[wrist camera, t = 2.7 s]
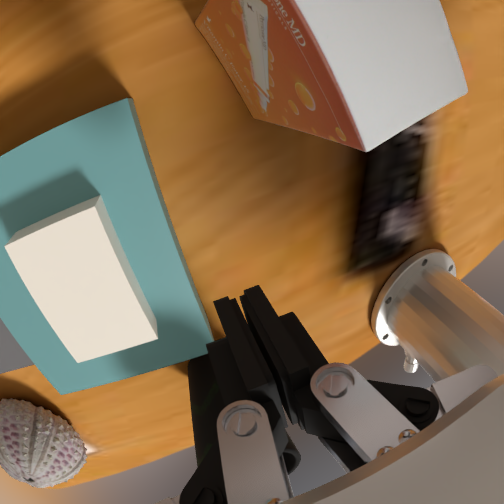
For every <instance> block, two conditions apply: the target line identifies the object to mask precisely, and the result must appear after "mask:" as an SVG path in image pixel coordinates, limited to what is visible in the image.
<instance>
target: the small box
mask: <svg viewBox="0 0 504 504" xmlns="http://www.w3.org/2000/svg"><path fill="white" fill-rule="evenodd" d="M195 26H196V27H197V28H198V30H199V31H200V32H201V34H202V35H203V36H204V38H205V39H206V41H207V42H208V44H209V45H210V47H211V48H212V50H213V51H214V53H215V54H216V56H217V58H218V59H219V61H220V62H221V64H222V65H223V67H224V69H225V70H226V72H227V74H228V75H229V77H230V79H231V80H232V82H233V84H234V85H235V87H236V89H237V90H238V92H239V94H240V96H241V97H242V99H243V101H244V102H245V104H246V106H247V108H248V110H249V111H250V113H251V115H252V117H253V118H254V119H258V120H262V121H266V122H269V123H273V124H277V125H281V126H284V127H288V128H292V129H295V130H299V131H302V132H305V133H309V134H312V135H315V136H319V137H322V138H325V139H328V140H331V141H334V142H337V143H341V144H344V145H347V146H349V147H352V148H355V149H358V150H361V151H364V152H368V151H370V150H372V149H374V148H375V147H377V146H378V145H380V144H381V143H383V142H385V141H386V140H388V139H390V138H391V137H393V136H394V135H396V134H398V133H399V132H401V131H402V130H404V129H406V128H407V127H409V126H411V125H413V124H414V123H416V122H418V121H419V120H421V119H423V118H424V117H426V116H428V115H430V114H431V113H433V112H435V111H436V110H438V109H440V108H442V107H443V106H445V105H447V104H449V103H450V102H452V101H454V100H456V99H457V98H459V97H461V96H463V95H465V94H466V93H467V92H468V88H467V84H466V81H465V77H464V73H463V69H462V66H461V63H460V59H459V56H458V53H457V50H456V47H455V44H454V41H453V38H452V35H451V32H450V29H449V26H448V23H447V20H446V17H445V14H444V11H443V8H442V6H441V3H440V1H439V0H208V1H207V3H206V4H205V6H204V8H203V10H202V11H201V13H200V14H199V16H198V18H197V19H196V21H195Z"/></svg>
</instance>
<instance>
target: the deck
mask: <svg viewBox="0 0 504 504" xmlns="http://www.w3.org/2000/svg"><path fill="white" fill-rule="evenodd" d="M99 195H101V197H102V199H103V202H104V205H105V207H106V210H107V212H108V215H109V217H110V220H111V222H112V224H113V227H114V229H115V232H116V234H117V236H118V239H119V241H120V243H121V246H122V248H123V250H124V253H125V255H126V257H127V259H128V261H129V264H130V266H131V268H132V270H133V272H134V275H135V277H136V279H137V281H138V283H139V285H140V287H141V289H142V291H143V294H144V296H145V298H146V300H147V302H148V304H149V306H150V308H151V310H152V312H153V314H154V316H155V318H156V321H157V333H158V339H156V340H153V341H150V342H147V343H143V344H140V345H137V346H134V347H131V348H127V349H124V350H121V351H117V352H114V353H111V354H107V355H104V356H101V357H97V358H94V359H90V360H87V361H83V362H80V363H77V362H76V360H75V359H74V358H73V356H72V355H71V354H70V352H69V351H68V350H67V348H66V347H65V345H64V344H63V343H62V341H61V340H60V338H59V337H58V336H57V334H56V333H55V331H54V330H53V328H52V327H51V325H50V324H49V322H48V321H47V319H46V318H45V316H44V315H43V313H42V312H41V310H40V309H39V307H38V305H37V304H36V302H35V301H34V299H33V297H32V296H31V294H30V292H29V291H28V289H27V287H26V286H25V284H24V282H23V280H22V279H21V277H20V275H19V273H18V271H17V270H16V268H15V266H14V264H13V262H12V260H11V258H10V256H9V255H8V253H7V251H6V249H5V247H4V246H5V245H6V244H7V242H8V241H9V240H10V239H11V238H12V236H13V235H14V234H15V233H16V232H17V231H19V230H21V229H23V228H25V227H27V226H30V225H32V224H34V223H36V222H38V221H40V220H43V219H45V218H47V217H49V216H51V215H54V214H56V213H58V212H61V211H63V210H65V209H67V208H70V207H72V206H75V205H77V204H79V203H82V202H84V201H87V200H89V199H92V198H94V197H97V196H99ZM0 318H1V320H2V321H3V322H4V324H5V325H6V327H7V328H8V330H9V331H10V332H11V334H12V335H13V337H14V338H15V339H16V341H17V342H18V343H19V345H20V346H21V347H22V349H23V350H24V351H25V353H26V354H27V355H28V357H29V358H30V359H31V360H32V362H33V363H34V364H35V365H36V366H37V368H38V369H39V370H40V371H41V373H42V374H43V375H44V376H45V377H46V378H47V380H48V381H49V382H50V383H51V384H52V385H53V386H54V388H55V389H56V390H57V391H58V392H59V393H60V394H61V395H63V394H68V393H72V392H76V391H80V390H84V389H88V388H92V387H96V386H100V385H104V384H108V383H111V382H115V381H119V380H122V379H126V378H129V377H133V376H137V375H140V374H143V373H147V372H150V371H154V370H157V369H160V368H164V367H167V366H170V365H173V364H177V363H180V362H183V361H186V360H189V359H192V358H195V357H198V356H201V355H204V354H207V353H208V351H207V347H206V344H208V343H211V342H213V341H214V338H213V335H212V331H211V328H210V325H209V321H208V318H207V315H206V313H205V310H204V308H203V305H202V303H201V300H200V298H199V295H198V293H197V290H196V287H195V285H194V282H193V280H192V277H191V274H190V272H189V269H188V266H187V264H186V261H185V258H184V256H183V253H182V250H181V247H180V245H179V242H178V239H177V236H176V233H175V231H174V228H173V225H172V222H171V219H170V216H169V214H168V211H167V208H166V205H165V202H164V199H163V196H162V193H161V190H160V187H159V184H158V181H157V178H156V175H155V172H154V168H153V165H152V162H151V159H150V156H149V153H148V149H147V146H146V143H145V140H144V136H143V133H142V130H141V126H140V123H139V120H138V116H137V113H136V109H135V106H134V102H133V99H131V98H126V99H123V100H120V101H118V102H115V103H112V104H110V105H107V106H104V107H102V108H99V109H97V110H94V111H92V112H89V113H87V114H85V115H82V116H80V117H78V118H75V119H73V120H71V121H68V122H66V123H64V124H62V125H60V126H58V127H55V128H53V129H51V130H49V131H47V132H45V133H43V134H41V135H39V136H37V137H35V138H33V139H31V140H29V141H27V142H25V143H24V144H22V145H20V146H18V147H16V148H14V149H12V150H11V151H9V152H7V153H5V154H4V155H2V156H0Z"/></svg>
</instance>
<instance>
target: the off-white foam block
mask: <svg viewBox="0 0 504 504" xmlns="http://www.w3.org/2000/svg"><path fill="white" fill-rule="evenodd" d="M4 247H5V249H6V251H7V253H8V255H9V256H10V258H11V260H12V262H13V264H14V266H15V268H16V270H17V271H18V273H19V275H20V277H21V279H22V280H23V282H24V284H25V286H26V287H27V289H28V291H29V292H30V294H31V296H32V297H33V299H34V301H35V302H36V304H37V305H38V307H39V309H40V310H41V312H42V313H43V315H44V316H45V318H46V319H47V321H48V322H49V324H50V325H51V327H52V328H53V330H54V331H55V333H56V334H57V336H58V337H59V338H60V340H61V341H62V343H63V344H64V345H65V347H66V348H67V350H68V351H69V352H70V354H71V355H72V356H73V358H74V359H75V360H76V362H77V363H80V362H83V361H87V360H90V359H94V358H97V357H101V356H104V355H107V354H111V353H114V352H117V351H121V350H124V349H127V348H131V347H134V346H137V345H140V344H143V343H147V342H150V341H153V340H156V339H158V333H157V321H156V318H155V316H154V314H153V312H152V310H151V308H150V306H149V304H148V302H147V300H146V298H145V296H144V294H143V291H142V289H141V287H140V285H139V283H138V281H137V279H136V277H135V275H134V272H133V270H132V268H131V266H130V264H129V261H128V259H127V257H126V255H125V253H124V250H123V248H122V246H121V243H120V241H119V239H118V236H117V234H116V232H115V229H114V227H113V224H112V222H111V220H110V217H109V215H108V212H107V210H106V207H105V205H104V202H103V199H102V197H101V195H99V196H97V197H94V198H92V199H89V200H87V201H84V202H82V203H79V204H77V205H75V206H72V207H70V208H67V209H65V210H63V211H61V212H58V213H56V214H54V215H51V216H49V217H47V218H45V219H43V220H40V221H38V222H36V223H34V224H32V225H30V226H27V227H25V228H23V229H21V230H19V231H17V232H16V233H15V234H14V235H13V236H12V238H11V239H10V240H9V241H8V242H7V244H6V245H5V246H4Z"/></svg>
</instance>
